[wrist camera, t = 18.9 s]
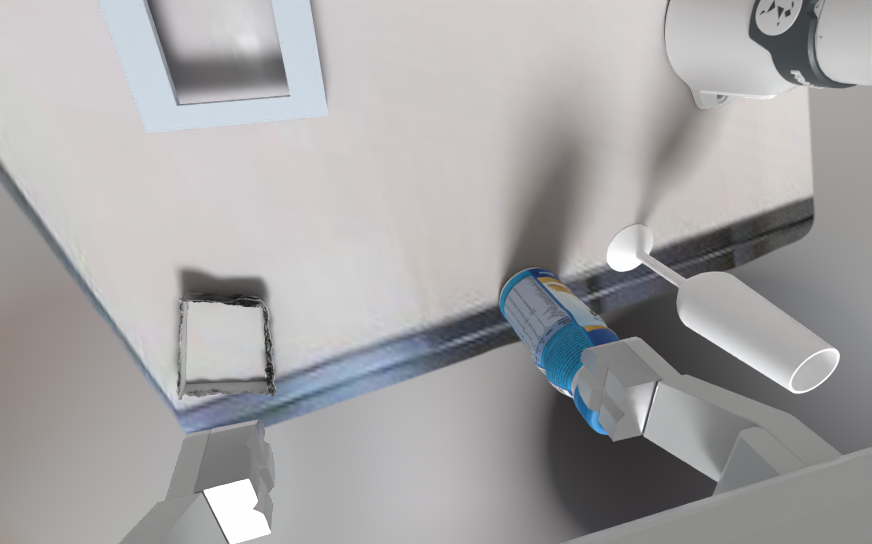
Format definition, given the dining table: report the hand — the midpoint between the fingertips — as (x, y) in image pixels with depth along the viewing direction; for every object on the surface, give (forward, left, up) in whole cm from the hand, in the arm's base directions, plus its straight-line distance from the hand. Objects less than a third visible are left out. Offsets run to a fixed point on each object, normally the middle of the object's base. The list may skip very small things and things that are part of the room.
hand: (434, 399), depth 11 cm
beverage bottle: (-20, +22, -35) cm, 46 cm away
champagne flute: (-34, +18, -35) cm, 52 cm away
